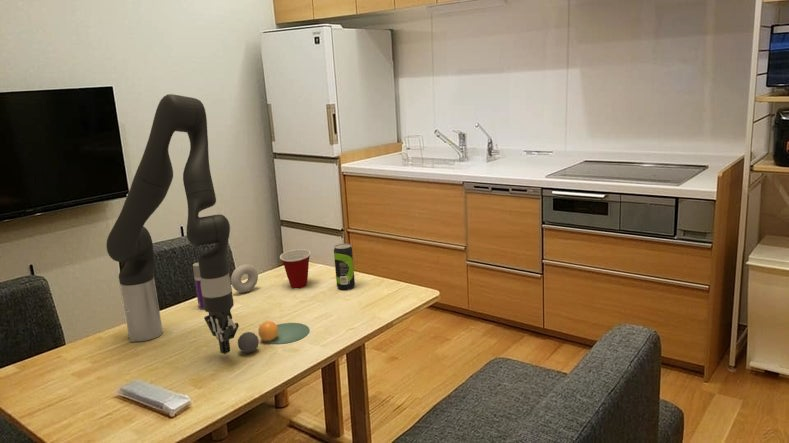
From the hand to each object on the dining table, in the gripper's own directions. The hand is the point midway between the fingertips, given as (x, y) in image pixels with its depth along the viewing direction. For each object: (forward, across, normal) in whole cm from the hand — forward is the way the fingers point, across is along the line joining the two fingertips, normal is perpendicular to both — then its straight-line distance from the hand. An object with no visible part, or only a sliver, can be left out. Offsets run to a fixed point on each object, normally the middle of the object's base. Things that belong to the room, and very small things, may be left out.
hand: (225, 352), depth 161 cm
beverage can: (+2, +11, -56) cm, 57 cm away
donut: (+2, +38, -34) cm, 51 cm away
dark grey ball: (-1, -2, -6) cm, 6 cm away
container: (+2, +38, -18) cm, 42 cm away
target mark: (+2, -1, -19) cm, 19 cm away
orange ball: (-1, -1, -14) cm, 14 cm away
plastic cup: (+2, +27, -48) cm, 55 cm away
